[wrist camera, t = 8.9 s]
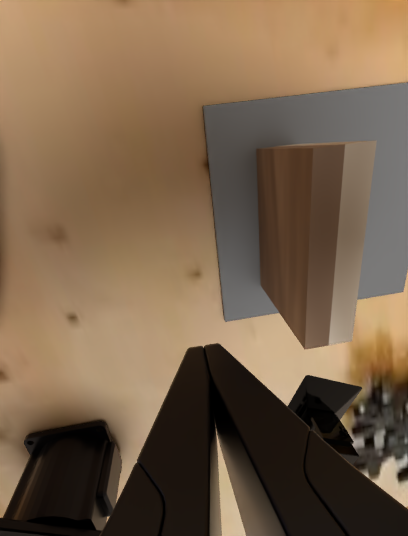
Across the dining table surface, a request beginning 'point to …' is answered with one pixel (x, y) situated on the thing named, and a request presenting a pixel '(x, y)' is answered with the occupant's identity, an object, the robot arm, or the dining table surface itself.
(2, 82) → the dining table surface
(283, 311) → the tile
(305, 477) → the robot arm
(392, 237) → the mat
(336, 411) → the black angular block
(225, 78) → the dining table surface
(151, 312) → the dining table surface
